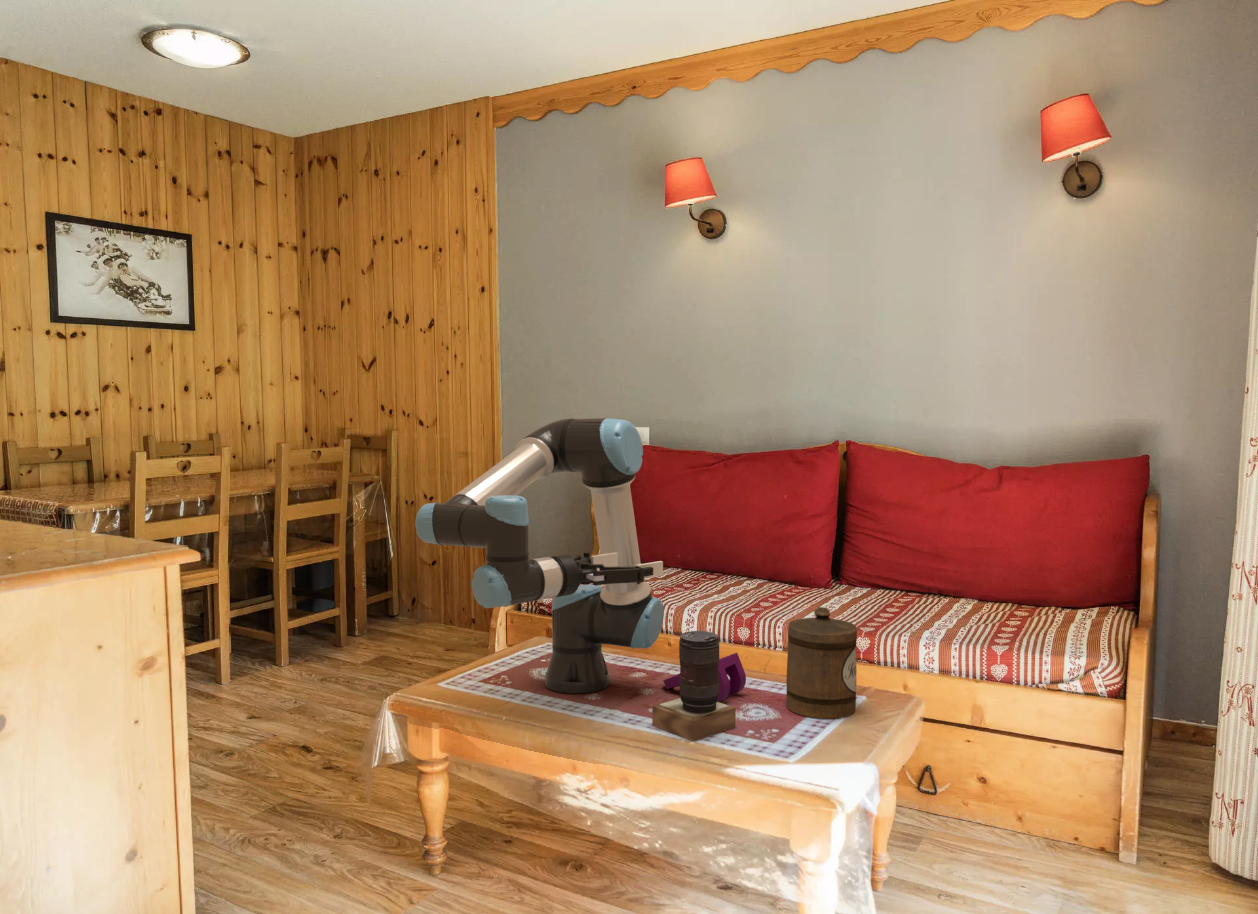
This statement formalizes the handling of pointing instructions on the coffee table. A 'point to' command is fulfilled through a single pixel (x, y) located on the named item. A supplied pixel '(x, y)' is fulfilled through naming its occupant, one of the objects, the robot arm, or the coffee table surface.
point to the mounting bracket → (722, 677)
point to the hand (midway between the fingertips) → (638, 563)
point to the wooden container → (821, 666)
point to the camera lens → (699, 671)
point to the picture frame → (692, 720)
